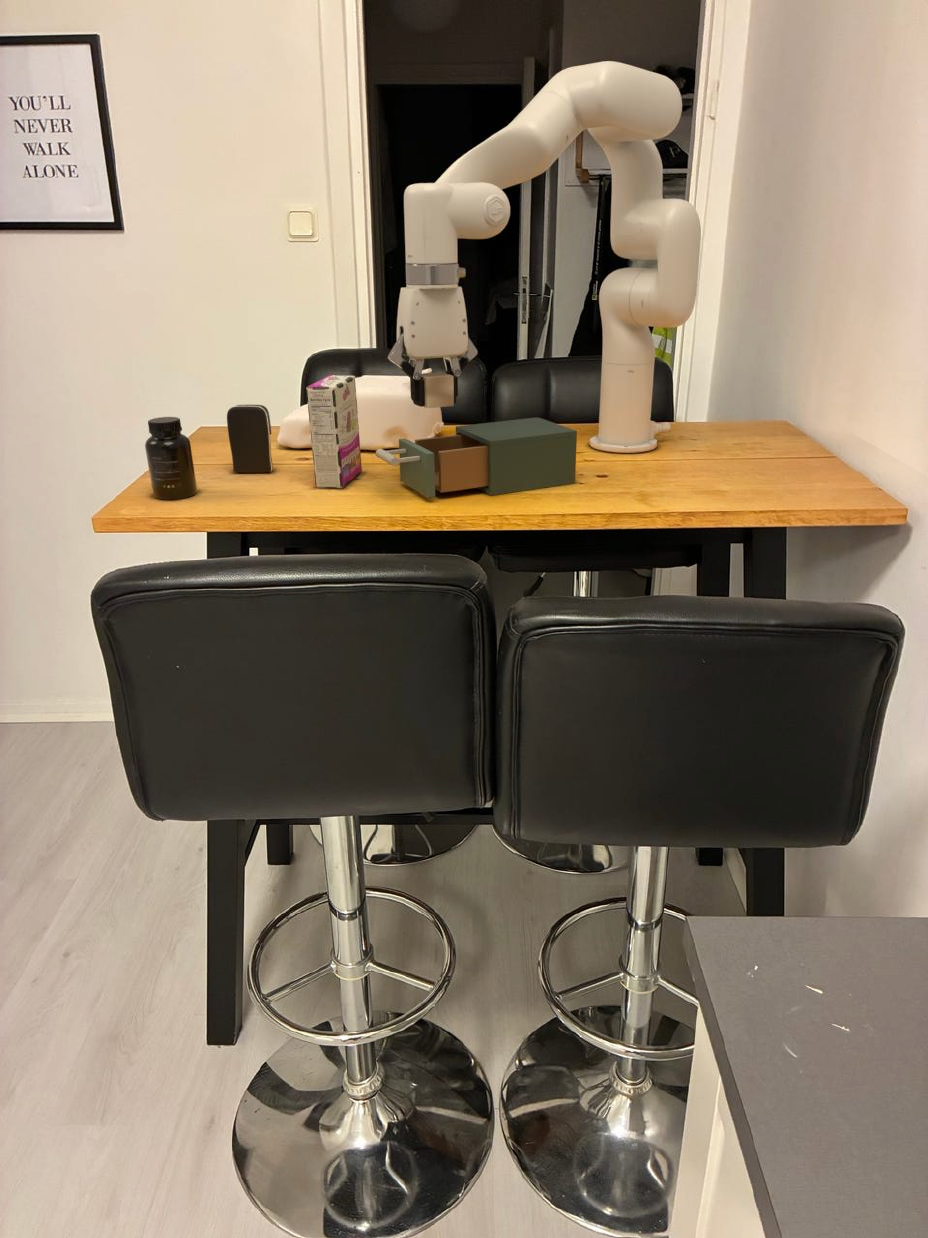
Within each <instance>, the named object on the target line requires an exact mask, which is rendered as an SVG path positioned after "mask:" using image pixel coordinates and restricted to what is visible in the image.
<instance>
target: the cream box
mask: <svg viewBox="0 0 928 1238" xmlns="http://www.w3.org/2000/svg"><path fill="white" fill-rule="evenodd" d="M421 376H422V379H423V380H424V388H425V405H424V406H423V407H425V408H436V407H440V408H446V407H454V405H455V404H454V380H453V376H452V375H449V374H446V372H443V371H437V372H431V373H422V374H421Z"/></svg>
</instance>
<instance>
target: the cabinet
mask: <svg viewBox="0 0 928 1238" xmlns="http://www.w3.org/2000/svg"><path fill="white" fill-rule="evenodd" d="M460 434H463V435H466V436H468V437H470V438H473V439H475V440H477V441H480V442H482V443H484V444H486V445H489V446H488V486H485V487H478V488H476V489H478V490H479V491H481V492H483V493H485V494H487V495H489V496H491V497H492V496H497V495H505V494H511V493H517V492H525V491H532V490H538V489H545V488H552V487H559V486H567V485H573V484H576V472H577V469H576V468H577V443H578V442H577V441H578V430H576V429H573V428H570V427H567V426H564V425H561V424H558V423H556V422H553V421H549V420H547V419H544V418H541V417H528V418H518V419H509V420H502V421H501V420H500V421H493V422H483V423H476V424H475V423H474V424H466V425H457V426H455V435H460Z"/></svg>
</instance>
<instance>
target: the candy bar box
mask: <svg viewBox="0 0 928 1238" xmlns="http://www.w3.org/2000/svg"><path fill="white" fill-rule="evenodd" d="M355 378H356V376H355V375H344V374H343V375H342V374H339V375H336V374H333V375H332V374H331V375H327V376H326V377H324V378H321V379H320V380H318V381H315V382H314V383H312V384H310V385H308V386H307V387H305V391H306V399H307V404H308V412H309V422H310V431H311V441H312V448H311V451H312V462H313V463H312V464H313V473H314V482H315V483H314V484H315V488H317V489H333V490H335V489H344V488H345V487H346V486H348V484H350V483H351V482H352V481H353V480H354V479H355V478H357V476H358V475H360V474H361V473H362V472H363V468H362V455H361V454H362V453H361V450H360V440H359V426H358V412H357V400H356V386H355Z"/></svg>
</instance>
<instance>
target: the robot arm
mask: <svg viewBox="0 0 928 1238" xmlns="http://www.w3.org/2000/svg"><path fill="white" fill-rule="evenodd" d="M682 112H683V100H682V94H681V92H680V90H679V88H678V86H677V84H676V83H675V82H674V81H673V80H672V79H670V78H669V77H668V76H666V75H664V74H662V73H661V74H660V73H657V72H653V71H652V70H651V71H650V70H648V69H644V68H642V67H641V68H640V67H638V66H634V65H631V64H627V63H623V62H619V61H614V60H606V61H605V60H604V61H598V62H592V63H587V64H581V65H576V66H575V65H573V66H570V67H567V68H564V69H562V70H560V71H559V72H557V73H555V74H554V76H552V77H551V78H550V79H549V80H548V82H547V83H546V84H545V85H544V86H543V87H542V88H541V89H540V90H539V91H538V92H537V94H536V95H535V96H534V97H533V98H532V99H531V100H530V101H529V103H527V104H526V105H525V107H524V108H523V109H522V110H520V112H519V113H518V114H517V115H516V116H515V117H514V118H513V120H512V121H511V122H510V123H508V125H507V126H505V127H503V128H502V129H500V130H499V131H497V132H495V133H493V134H492V135H490V136H489V137H488V138H486V139H485V140H484V141H482V142H480V143H479V144H477V145H476V146H475V147H473V148H472V149H470V150H468V151H467V152H466V153H463V155H461V157H459V158H457V159H456V160H455V161H454V162H453V163H452V164H451V165H450V166H449V167H448V168H447V169H446V170H445V171H444V172H443V173H442V174H441V175H440V177H439V178H438V179H436V181H435V182H426V183H425V182H419V183H413V184H410V185H408V186H406V188H405V190H404V193H403V215H404V216H403V217H404V244H405V245H404V246H405V250H404V251H405V280H406V281H405V283H406V284H405V285H406V286H405V287H400V292H399V296H398V297H399V298H398V306H397V317H396V342H395V343H394V344H393V346H392V348H391V350H390V352H389V354H387V359H388V360H389V361H390V362H391V363H392V364H394V365H396V366H397V367H398V368H400V369H401V371H402V372H403V373H405V374H406V376H408V377H410V390H411V399H412V400H413V403H414V404H415V405H417V406H420V407H423V406H424V405H425V388H424V380H423V379H422V376H421V374H422V370H424V369H423V368H424V364H425V359H438V358H440V359H441V358H442V359H443V362H444V367H445V373H446V374H449V375H452V376H453V380H454V405H455V404H456V403H457V397H458V395H459V377H460V376H461V375H462V371H463V370H464V369H465V368H466V367H467V365H468V363H469V362H471V361H472V360H473V359H474V358H475V357H476V356H477V355H478V354H479V353H478V349H477V347H476V346H475V345H474V343H473V341H472V340H471V339H470V337H469V333H468V331H469V330H468V317H467V308H466V302H465V298H464V292H463V287H462V286H459V283H460V279H461V278H465V277H466V274H467V272H466V268H465V267H460V266H459V265H460V264H459V263H458V239H466V240H486V239H490V238H493V237H495V236H497V235H499V234H500V233H501V232H502V231H503V230H504V229H505V228H506V226H507V225H508V223H509V220H510V217H511V205H510V204H511V203H510V201H509V198H508V196H507V194H506V193H505V191H503V190H504V189H507V188H510V187H513V186H516V185H519V184H521V183H525V182H527V181H530V180H532V179H534V178H536V177H538V176H540V175H542V174H543V173H545V172H546V171H548V170H549V168H550V167H551V166H552V165H553V164H554V163H555V162H556V161H557V159H559V157H560V156H561V155H562V154H563V153H564V151H566V149H567V148H568V147H569V146H570V145H571V144H572V143H573V142H574V140H575V139H577V138H578V136H579V135H580V133H582V132H584V131H585V130H587V131H588V133H589V134H590V135H591V137H592V138H593V139H594V140H595V142H596V143H597V144H598V145H599V147H600V148H601V149H602V151H603V153H604V154H605V156H606V159H607V161H608V163H609V167H610V171H611V201H610V202H611V203H610V245H611V250H612V251H613V252H614V254H616V255H617V256H618V257H620V258H623V259H628V260H629V259H630V260H643V261H645V260H646V261H657V268H652V267H623V268H618V269H616V270H613V271H612V272H611V273H609V274H608V275H607V276H606V277H605V278H604V279H603V281H602V283H601V286H600V289H599V294H598V304H599V312H600V318H601V319H600V320H601V329H602V352H601V353H602V355H601V373H600V391H599V392H600V393H599V394H600V395H599V416H598V434H596V435H594V436H592V437H590V438H589V446H590V447H591V448H593V449H596V450H598V451H603V452H609V453H617V454H618V453H621V454H630V453H632V454H633V453H644V452H649V451H652V450H654V449H656V448H657V447H658V440H657V439H656V438H655V436H657V435H658V434H665V433H669V432H670V431H671V428H672V426H671V424H670V422H668V421H665V422H659V423H657V422H656V421H654V420H651V418H652V404H653V403H652V401H653V388H654V377H655V376H654V374H655V360H656V346H655V341H654V338H653V335H652V332H651V330H650V328H649V327H651V328H652V327H653V328H663V329H664V328H665V329H667V328H670V329H671V328H673V329H674V328H678V327H680V326H682V325H684V324H685V323H686V322H687V321H689V319H690V317H691V315H692V313H693V311H694V308H695V305H696V299H697V291H698V279H699V266H700V254H701V243H702V242H701V240H702V227H701V221H700V217H699V214H698V211H697V210H696V208H695V206H694V205H693V204H692V203H691V202H689V201H688V200H685V199H681V198H664V196H663V183H664V182H663V181H664V180H663V179H664V178H663V177H664V176H663V174H664V173H663V172H664V167H663V163H662V158H661V155H660V152H659V149H658V148H657V146H656V144H655V142H654V140H659V139H663V138H665V137H666V136H669V134H671V133H672V132H673V131H674V130H675V129H676V128H677V126H678V124H679V122H680V119H681V118H682V117H681V116H682ZM402 356H404V357H409V360H408V361H407V360H406V359H404V358H403V357H402Z"/></svg>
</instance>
